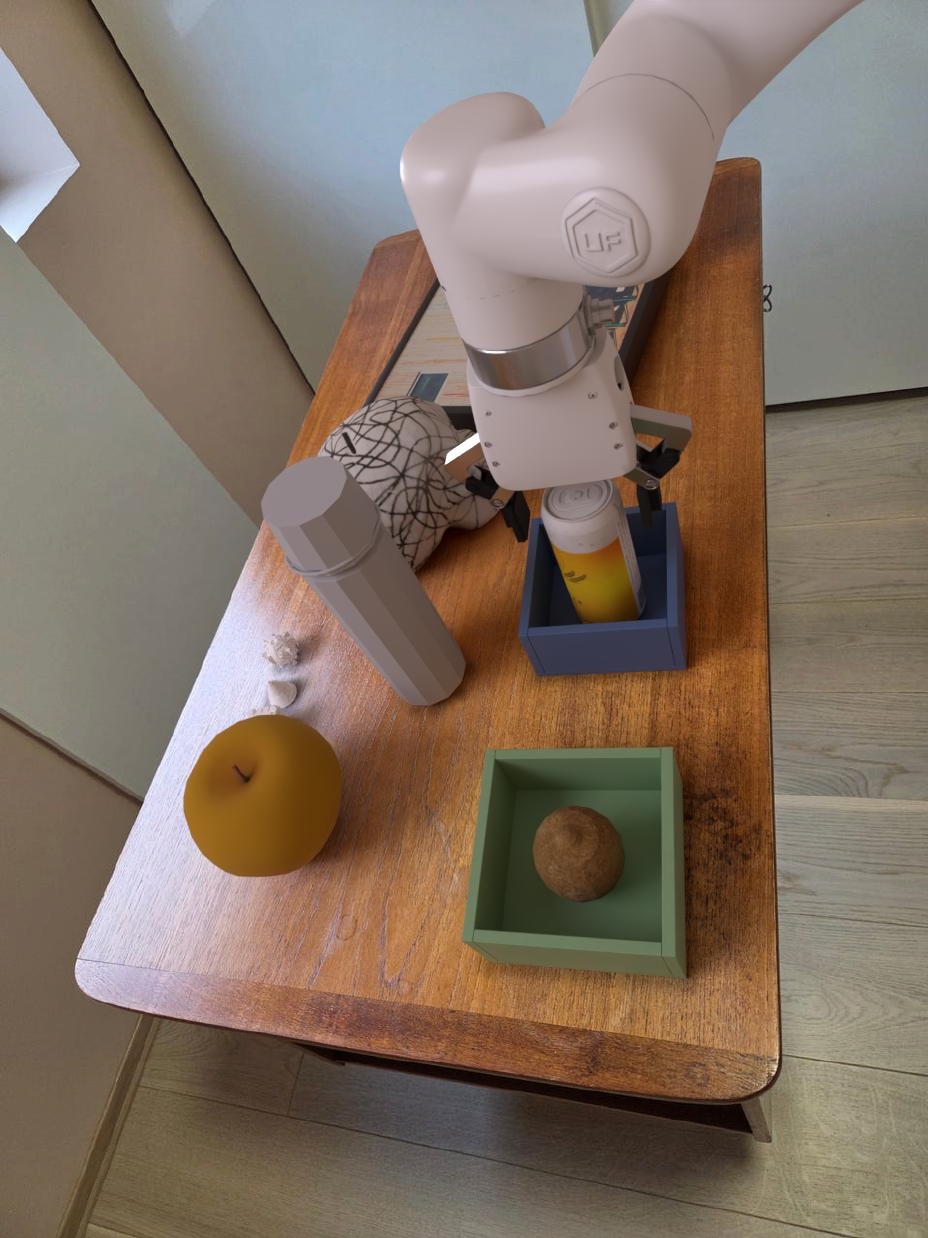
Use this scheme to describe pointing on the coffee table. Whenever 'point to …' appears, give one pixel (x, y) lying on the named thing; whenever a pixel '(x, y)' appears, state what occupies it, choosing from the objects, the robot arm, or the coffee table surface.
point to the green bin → (563, 929)
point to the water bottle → (362, 577)
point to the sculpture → (409, 472)
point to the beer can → (594, 550)
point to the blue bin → (608, 646)
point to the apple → (263, 796)
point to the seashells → (279, 692)
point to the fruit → (578, 854)
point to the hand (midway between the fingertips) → (585, 521)
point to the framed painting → (439, 358)
